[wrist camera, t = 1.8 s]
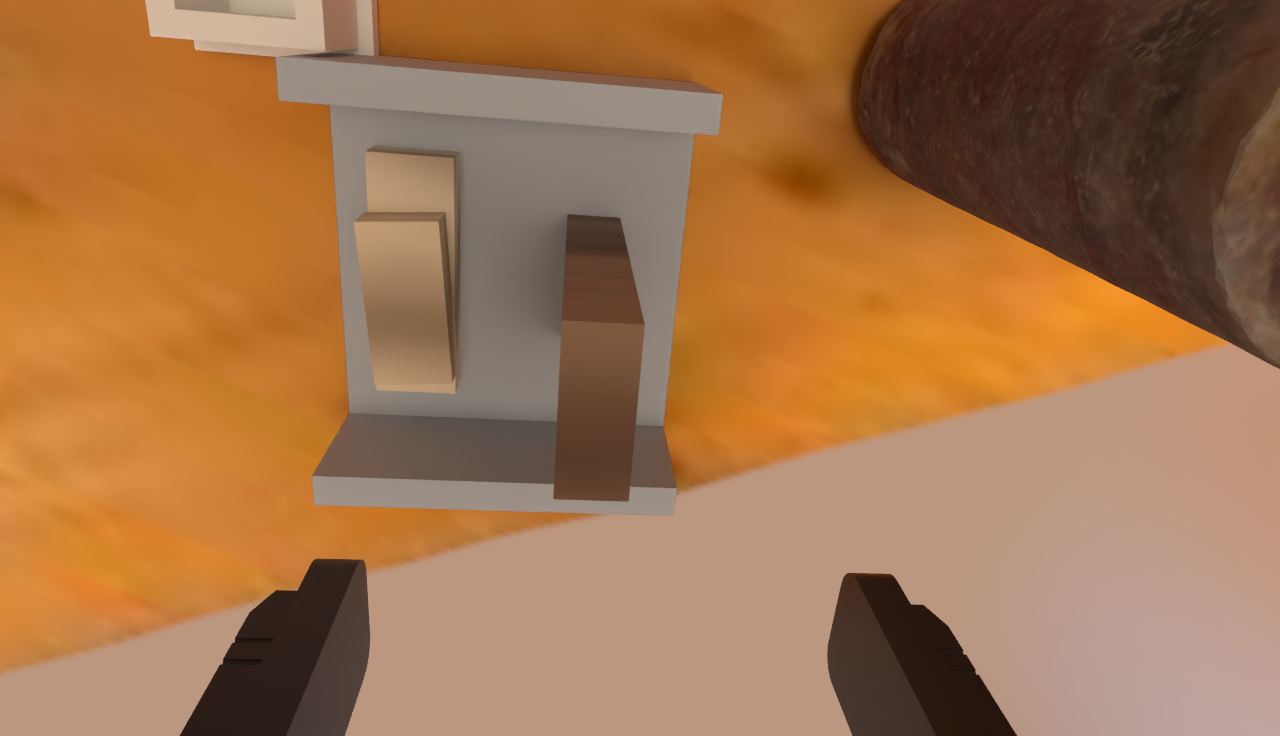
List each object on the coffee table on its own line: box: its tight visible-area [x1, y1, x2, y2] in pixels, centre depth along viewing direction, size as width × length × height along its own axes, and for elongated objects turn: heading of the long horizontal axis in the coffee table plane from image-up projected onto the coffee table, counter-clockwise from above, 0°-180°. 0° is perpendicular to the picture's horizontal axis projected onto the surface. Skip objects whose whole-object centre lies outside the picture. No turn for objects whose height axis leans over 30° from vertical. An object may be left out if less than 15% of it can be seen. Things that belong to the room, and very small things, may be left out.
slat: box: [553, 214, 645, 502], centre depth 25 cm, size 5×2×12 cm, turn 175°
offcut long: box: [365, 146, 461, 394], centre depth 30 cm, size 9×3×2 cm, turn 175°
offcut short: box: [354, 212, 458, 385], centre depth 28 cm, size 6×3×2 cm, turn 179°
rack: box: [275, 52, 723, 516], centre depth 29 cm, size 15×13×6 cm
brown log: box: [858, 0, 1280, 369], centre depth 21 cm, size 8×7×20 cm
